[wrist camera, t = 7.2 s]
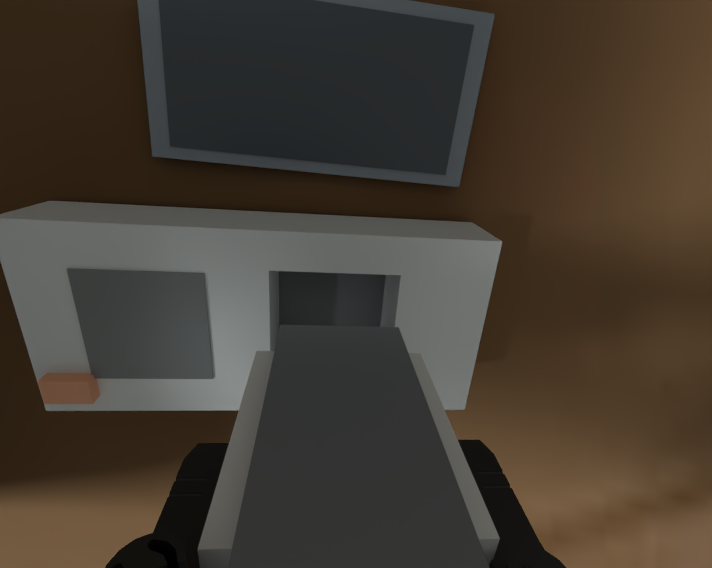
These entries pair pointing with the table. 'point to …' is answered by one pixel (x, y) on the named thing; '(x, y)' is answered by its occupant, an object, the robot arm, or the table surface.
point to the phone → (315, 84)
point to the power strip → (229, 296)
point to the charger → (350, 462)
